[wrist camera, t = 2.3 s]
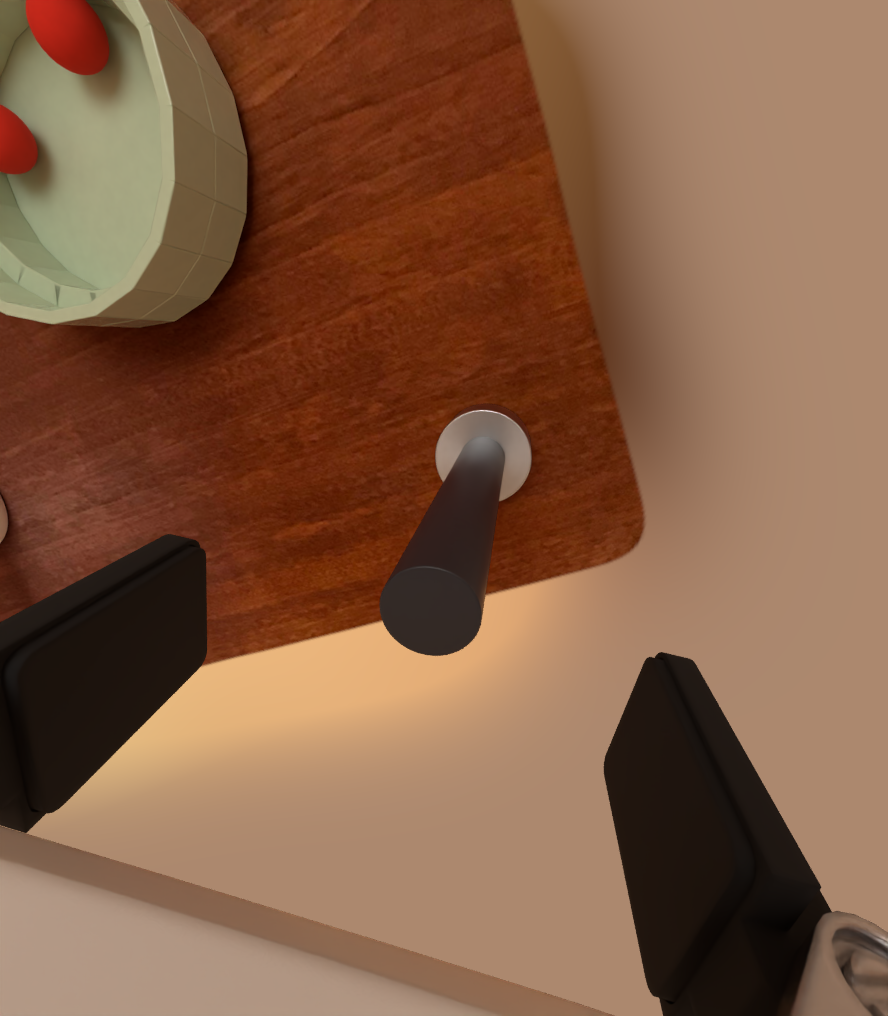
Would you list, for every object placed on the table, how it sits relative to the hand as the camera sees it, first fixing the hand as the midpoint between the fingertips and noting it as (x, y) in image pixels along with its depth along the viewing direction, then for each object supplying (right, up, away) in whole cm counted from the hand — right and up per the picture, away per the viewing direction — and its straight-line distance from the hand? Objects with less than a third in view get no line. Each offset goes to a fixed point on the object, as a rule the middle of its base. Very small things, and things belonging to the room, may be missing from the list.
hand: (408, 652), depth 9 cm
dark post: (+3, +7, +17) cm, 19 cm away
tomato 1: (-22, +22, +14) cm, 34 cm away
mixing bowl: (-17, +22, +15) cm, 32 cm away
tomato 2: (-17, +25, +12) cm, 32 cm away
